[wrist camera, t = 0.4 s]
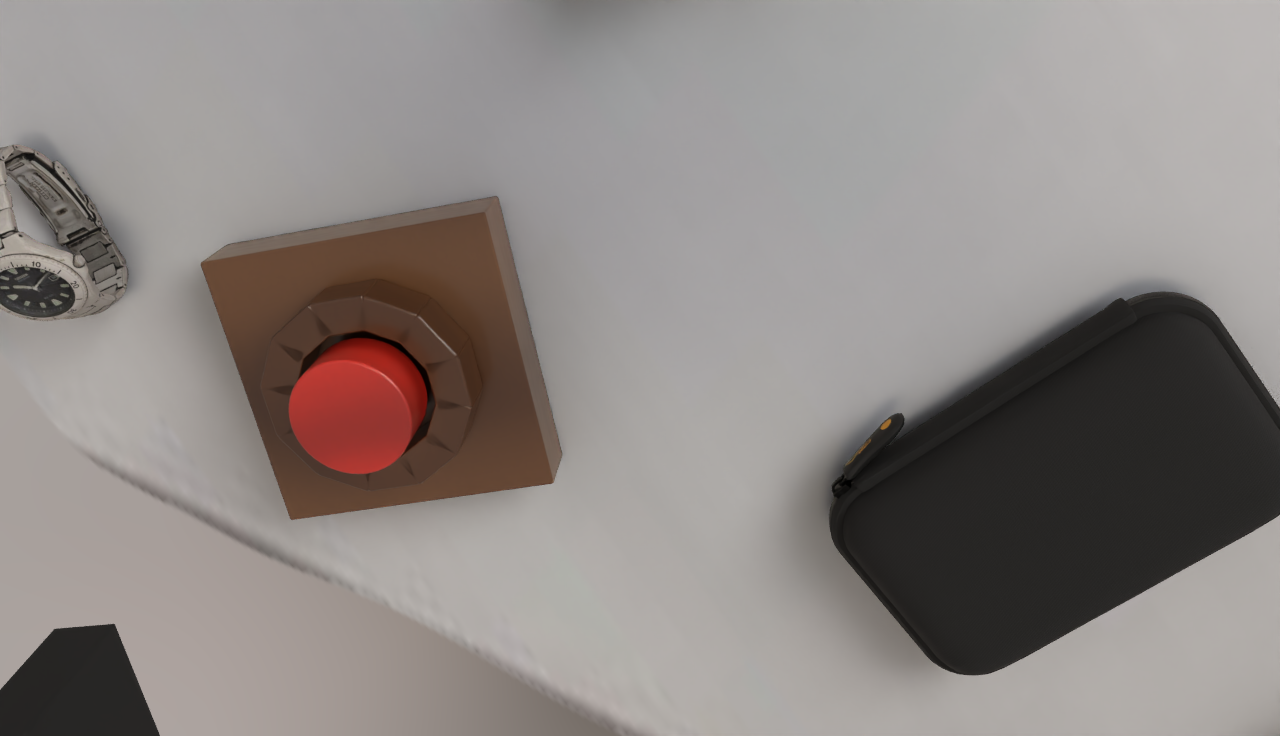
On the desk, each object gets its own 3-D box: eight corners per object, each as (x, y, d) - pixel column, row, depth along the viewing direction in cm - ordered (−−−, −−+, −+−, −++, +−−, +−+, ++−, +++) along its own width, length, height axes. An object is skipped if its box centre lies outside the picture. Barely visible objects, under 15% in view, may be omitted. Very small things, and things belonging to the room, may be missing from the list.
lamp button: (294, 347, 38) (271, 370, 36) (409, 327, 37) (391, 351, 36) (330, 454, 39) (309, 483, 38) (441, 437, 39) (426, 466, 37)
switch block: (226, 244, 41) (174, 279, 37) (498, 195, 39) (472, 227, 35) (311, 492, 44) (271, 546, 41) (562, 455, 43) (546, 509, 39)
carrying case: (1150, 227, 38) (785, 467, 42) (1182, 254, 35) (787, 508, 39) (1308, 461, 40) (949, 663, 45) (1350, 504, 38) (962, 715, 42)
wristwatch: (91, 311, 42) (11, 363, 38) (-10, 157, 40) (-107, 191, 36) (169, 275, 41) (97, 324, 37) (70, 116, 39) (-18, 146, 35)
